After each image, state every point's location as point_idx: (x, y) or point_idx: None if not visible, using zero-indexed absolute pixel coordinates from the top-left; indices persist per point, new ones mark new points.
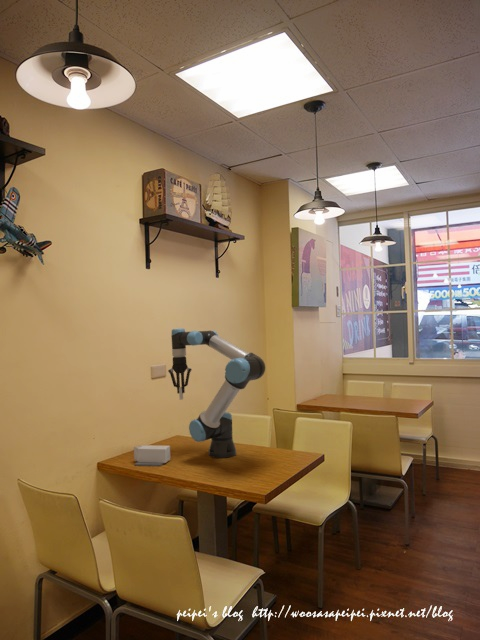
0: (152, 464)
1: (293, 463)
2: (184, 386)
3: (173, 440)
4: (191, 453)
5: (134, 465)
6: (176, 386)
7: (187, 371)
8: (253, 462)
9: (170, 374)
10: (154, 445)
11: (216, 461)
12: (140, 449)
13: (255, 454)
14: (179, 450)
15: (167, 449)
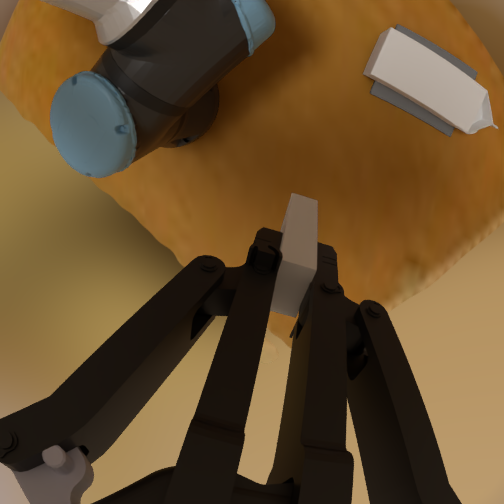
0: (424, 38)
1: (32, 8)
2: (234, 271)
3: None
4: (279, 140)
5: (475, 72)
6: (346, 305)
7: (79, 453)
8: None
9: (444, 474)
10: (431, 106)
11: None
12: (479, 84)
13: None
14: (318, 195)
15: (380, 46)
